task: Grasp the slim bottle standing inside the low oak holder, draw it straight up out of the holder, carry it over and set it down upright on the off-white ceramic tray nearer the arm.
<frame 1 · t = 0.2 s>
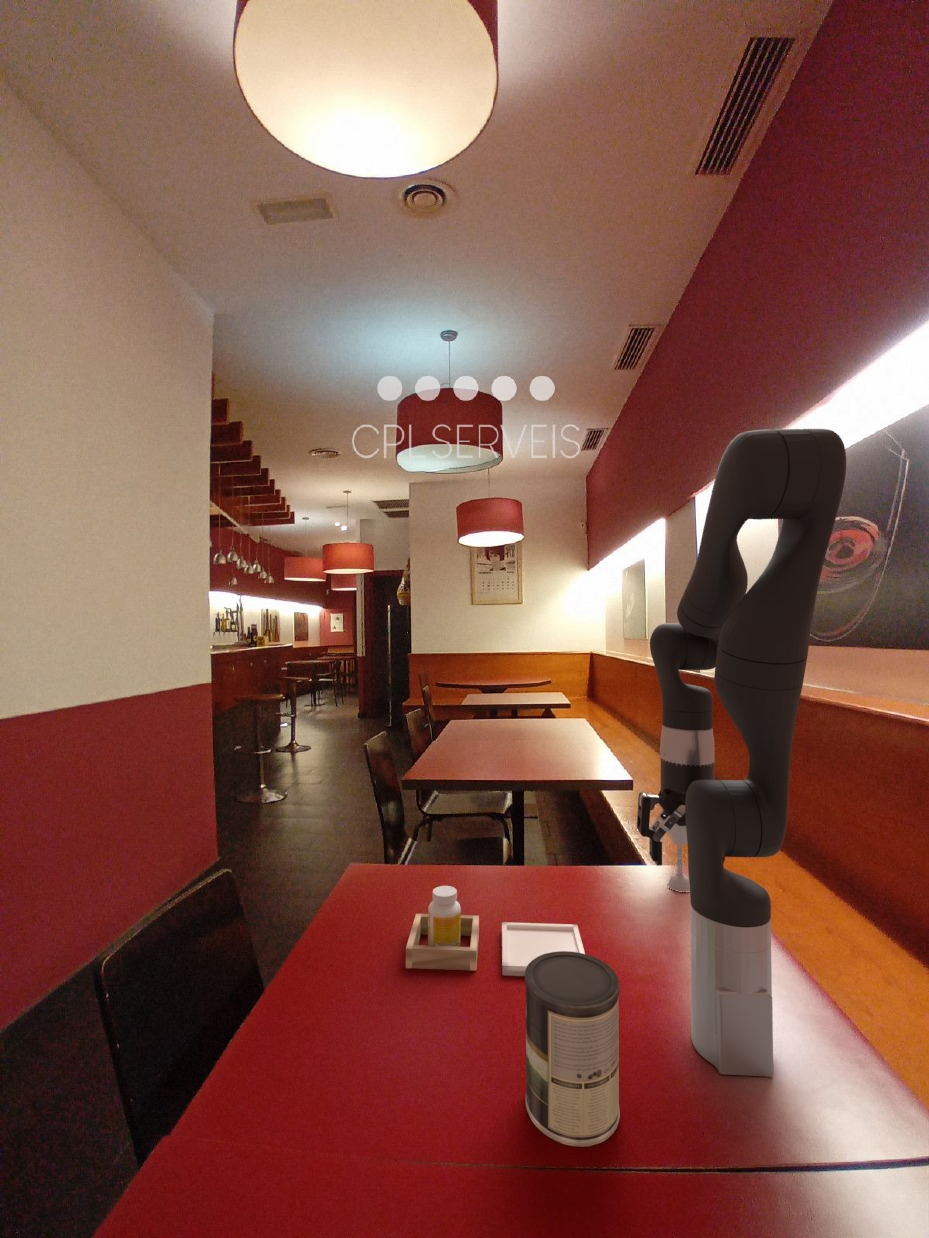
hand: (686, 864, 85), 17 cm above the table, tool pointing down, fingers open, 8 cm apart
chalice: (679, 888, 117), on the table
supplement bottle: (444, 950, 94), resting in oak holder
coffee can: (572, 1108, 63), on the table
ceramic tray: (542, 952, 93), on the table
oak holder: (444, 949, 94), on the table
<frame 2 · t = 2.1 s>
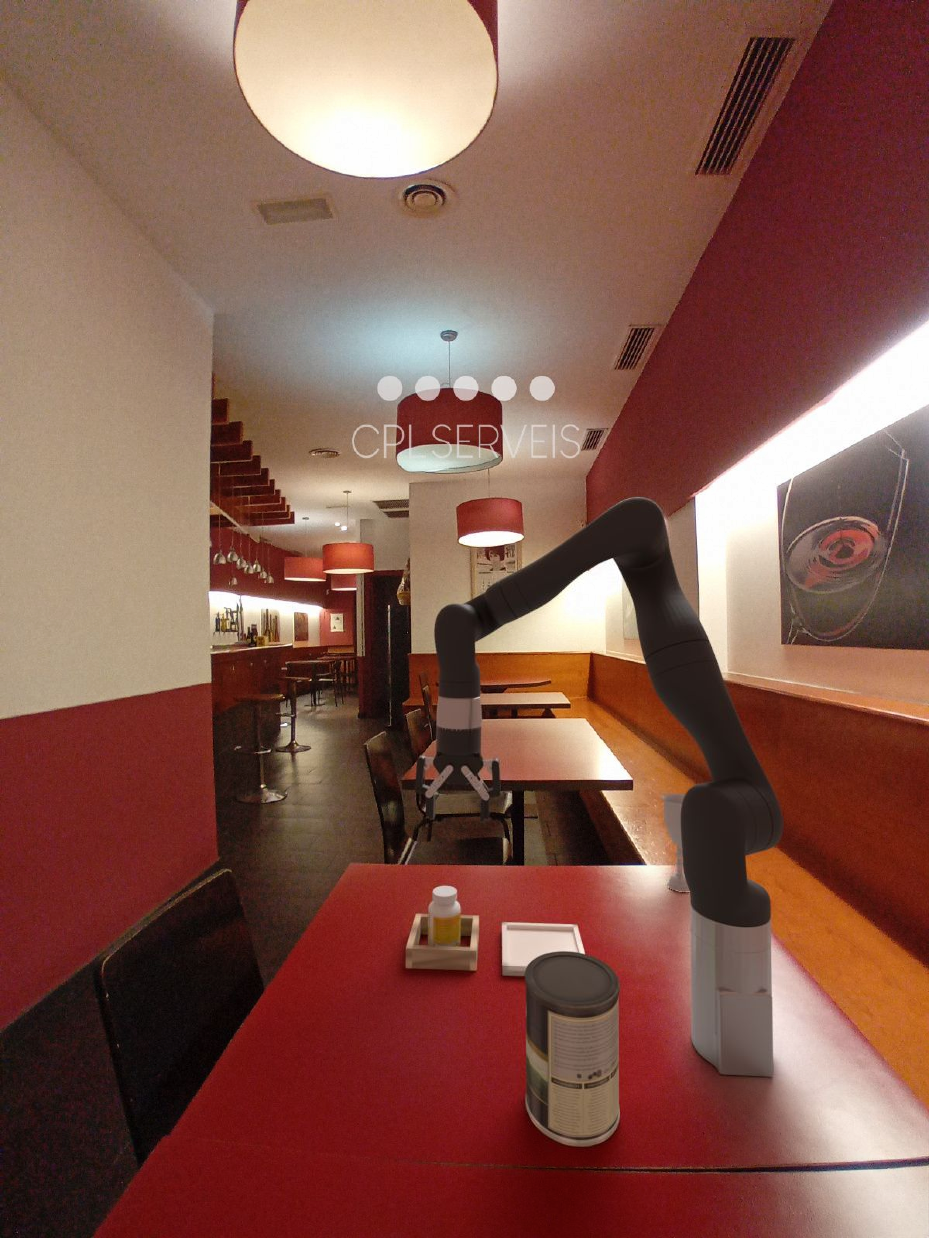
hand: (457, 819, 95), 21 cm above the table, tool pointing down, fingers open, 8 cm apart
nothing on the table moved.
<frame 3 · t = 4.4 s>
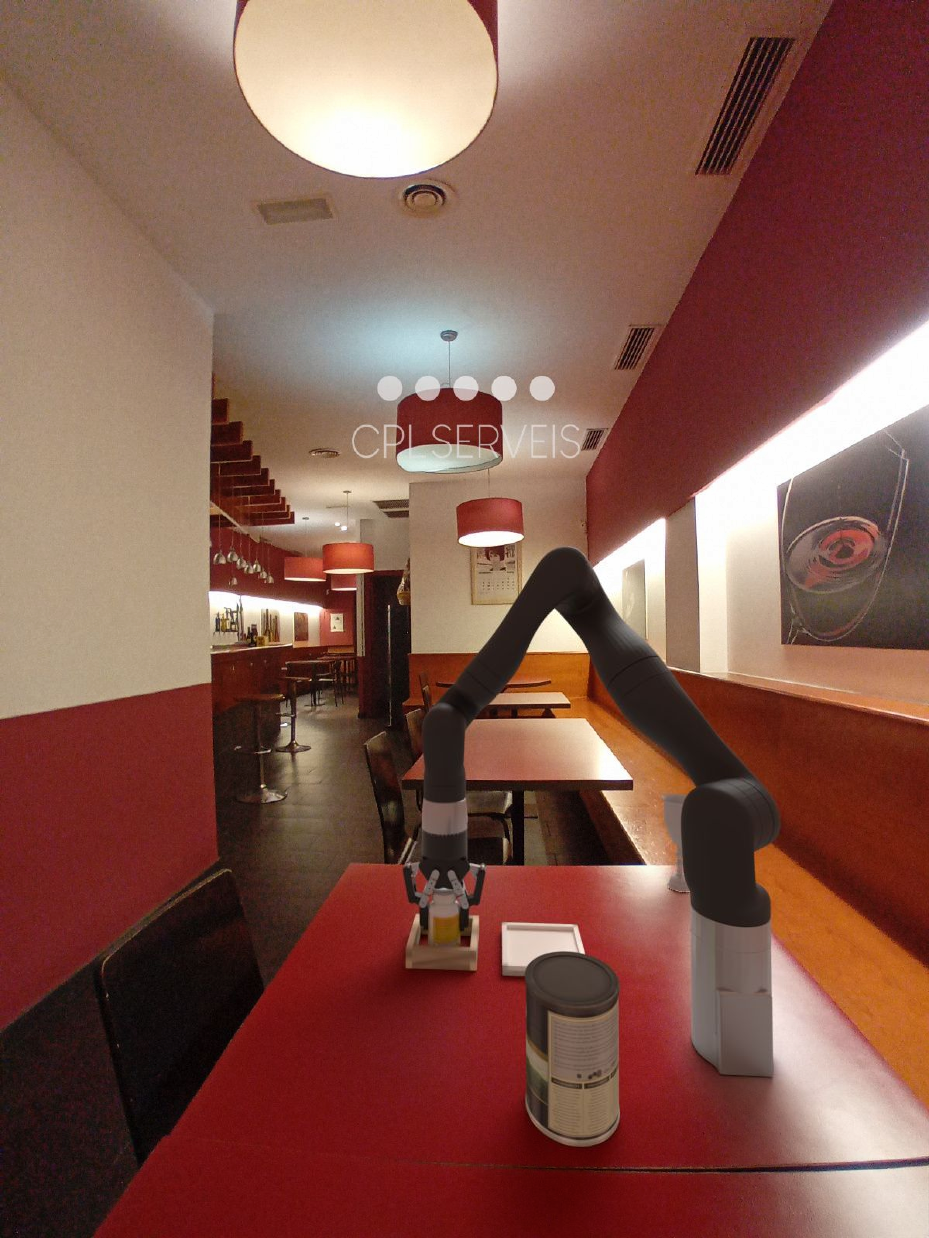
hand: (444, 927, 94), 4 cm above the table, tool pointing down, fingers closed on supplement bottle, 5 cm apart
supplement bottle: (444, 950, 94), resting in oak holder, touching gripper
everything else where it was.
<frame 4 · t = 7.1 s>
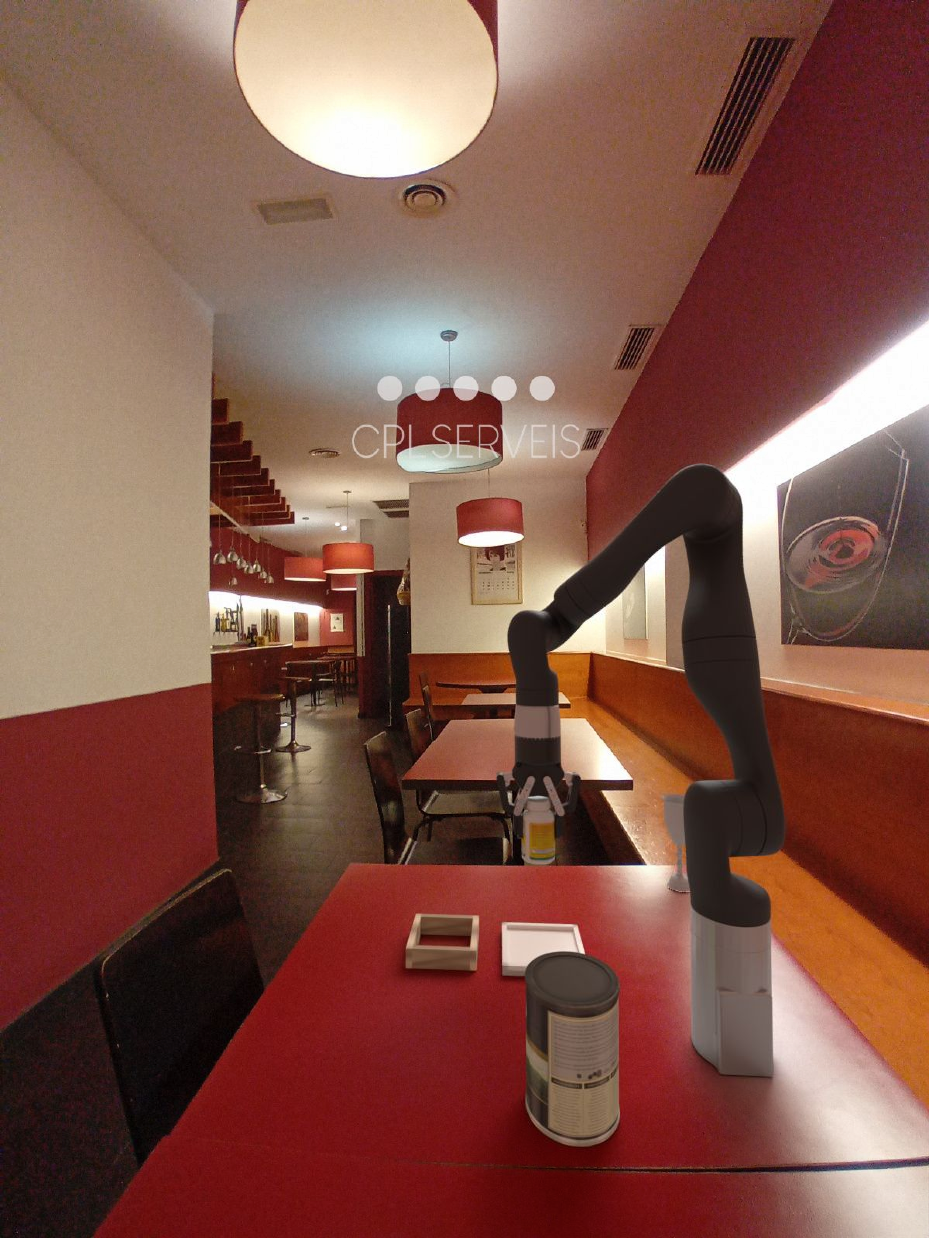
hand: (538, 837, 92), 19 cm above the table, tool pointing down, fingers closed on supplement bottle, 5 cm apart
supplement bottle: (538, 860, 92), point 15 cm above the table, touching gripper
everything else where it was.
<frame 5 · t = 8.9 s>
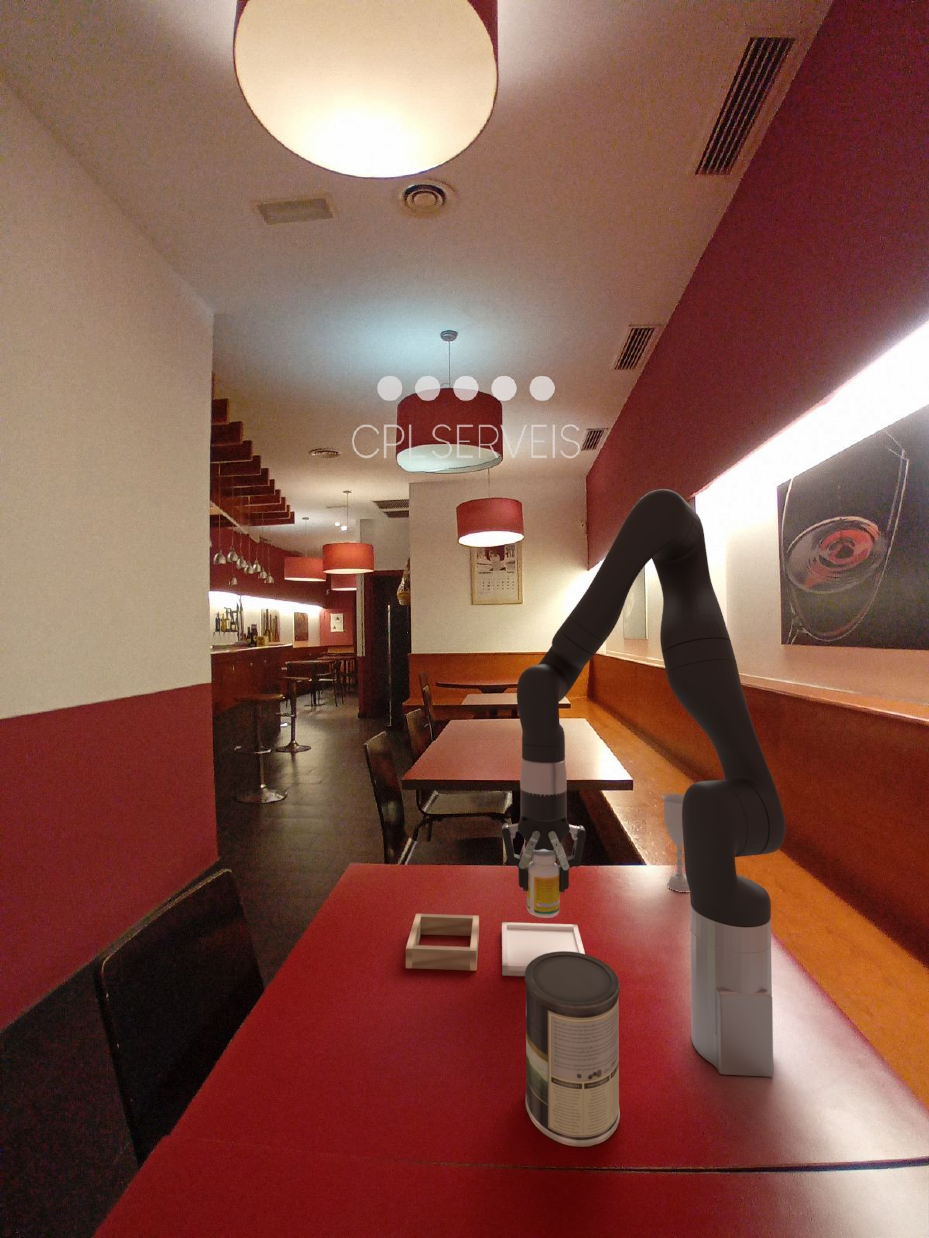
hand: (543, 889, 93), 10 cm above the table, tool pointing down, fingers closed on supplement bottle, 5 cm apart
supplement bottle: (543, 911, 93), point 6 cm above the table, touching gripper
everything else where it was.
when the fingers open (5 cm above the table, at t = 10.3 s): supplement bottle drops 1 cm, resting on ceramic tray.
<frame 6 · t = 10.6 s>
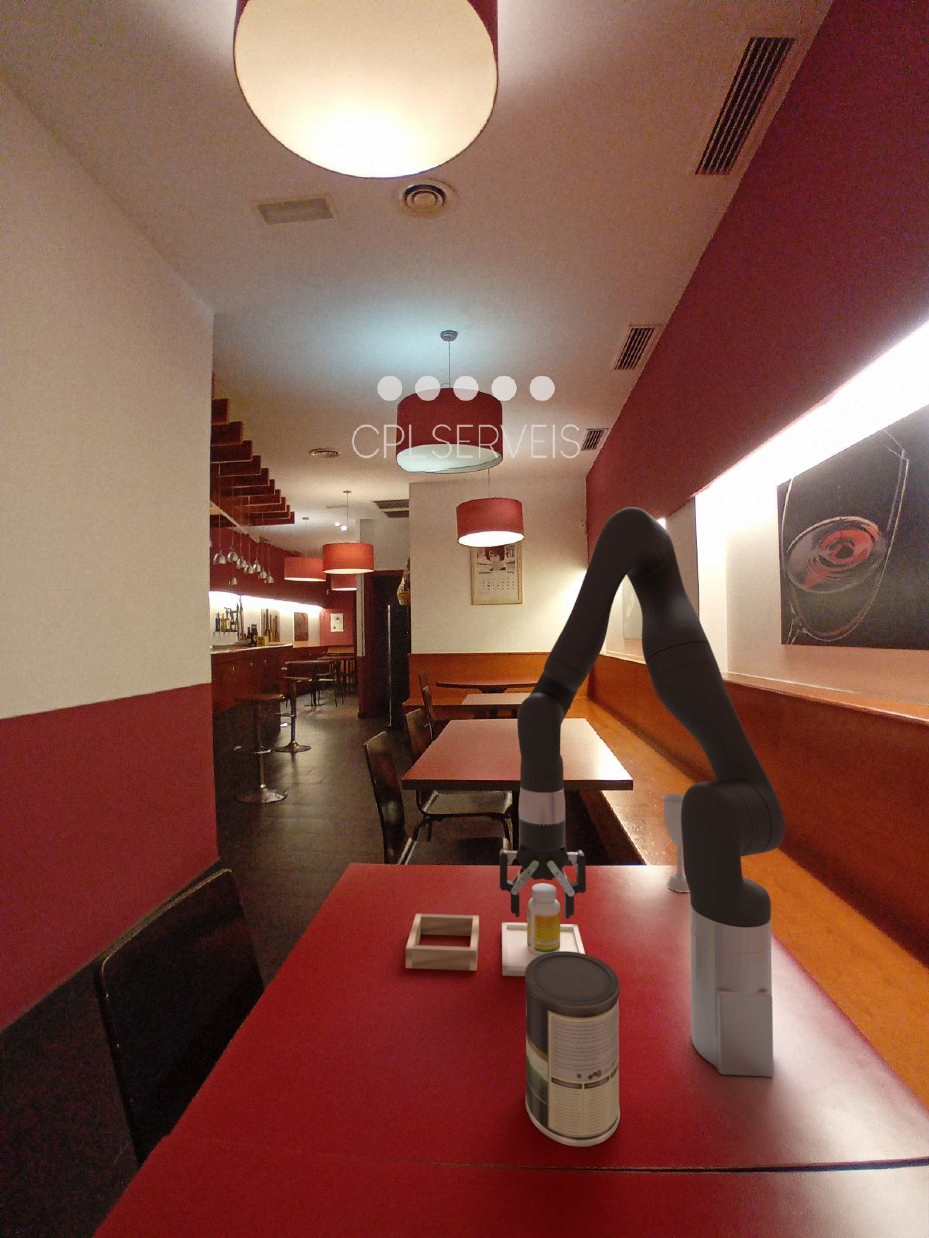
hand: (542, 915, 93), 6 cm above the table, tool pointing down, fingers open, 7 cm apart
supplement bottle: (543, 949, 93), point 1 cm above the table, touching ceramic tray
everything else where it was.
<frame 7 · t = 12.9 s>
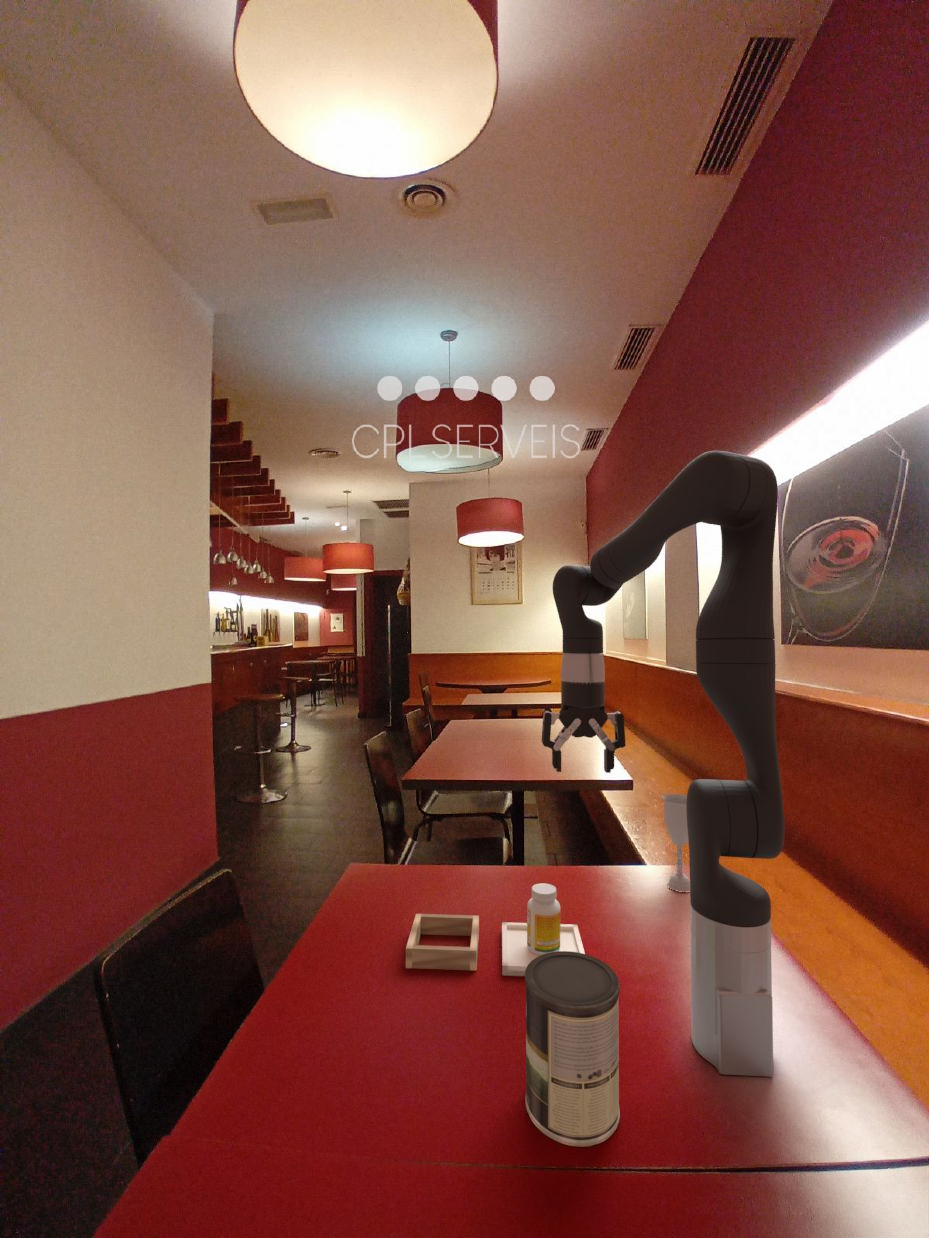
hand: (583, 771, 100), 28 cm above the table, tool pointing down, fingers open, 8 cm apart
nothing on the table moved.
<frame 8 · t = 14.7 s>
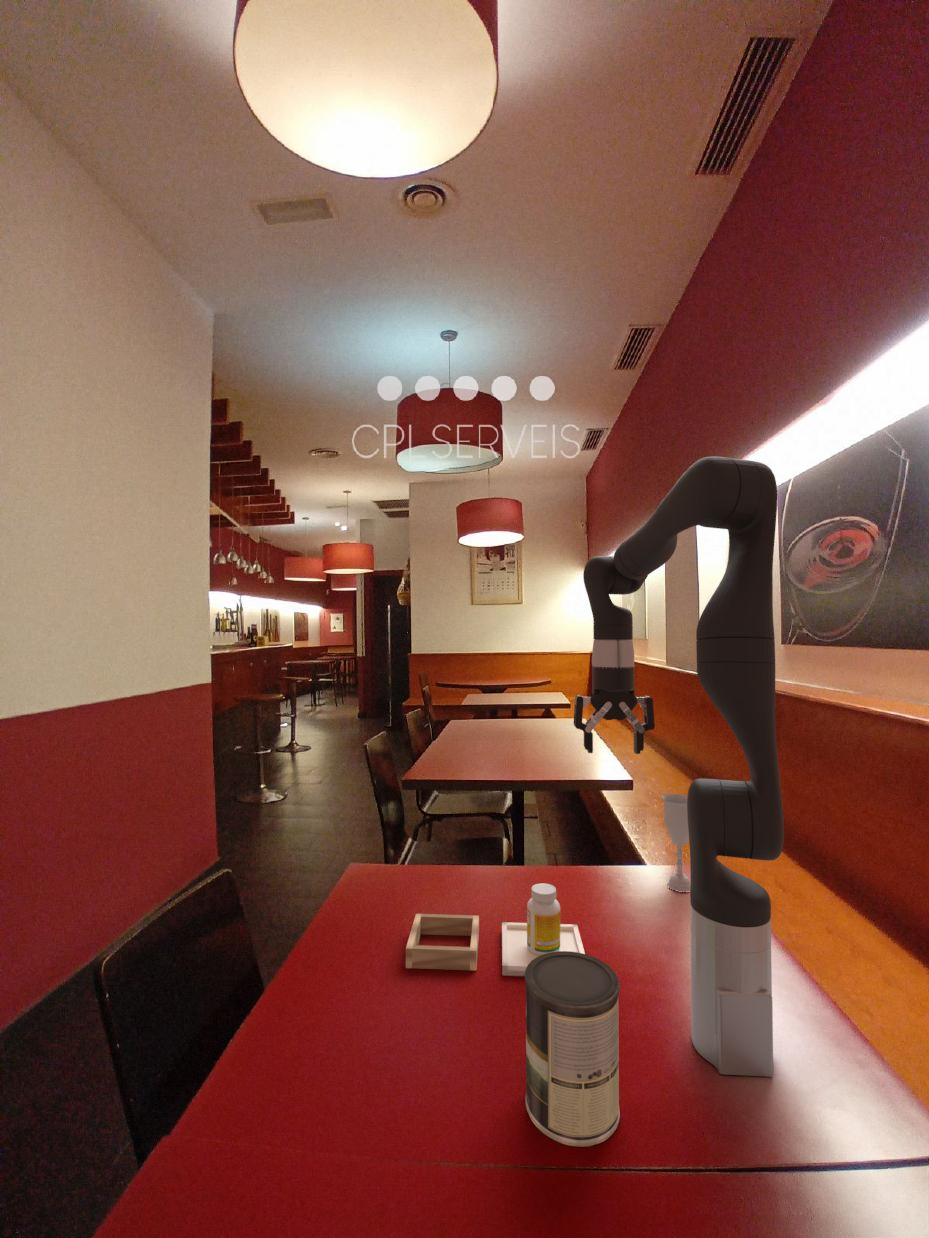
hand: (613, 752, 104), 30 cm above the table, tool pointing down, fingers open, 8 cm apart
nothing on the table moved.
at the end: supplement bottle inside the target area on the ceramic tray (0.2 cm from its centre), point 0.6 cm above the ceramic tray's base; supplement bottle tilted 0°; the gripper is holding nothing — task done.
